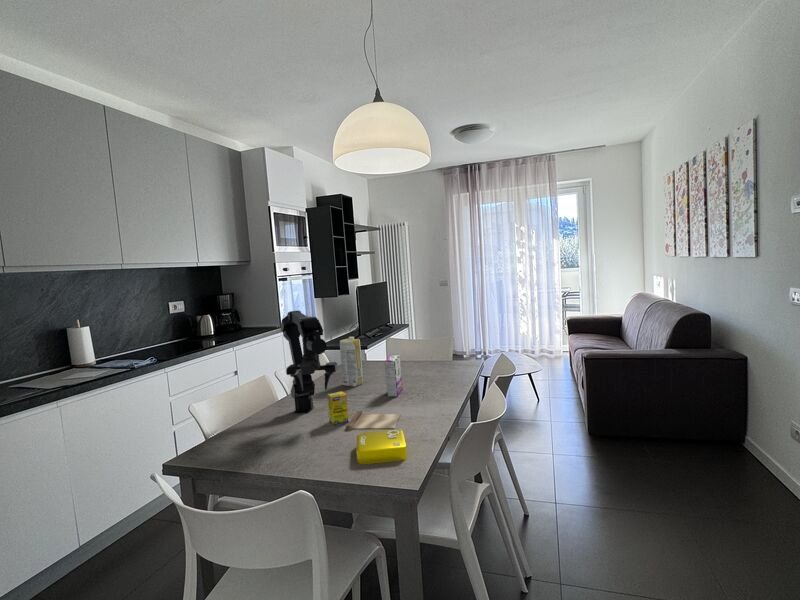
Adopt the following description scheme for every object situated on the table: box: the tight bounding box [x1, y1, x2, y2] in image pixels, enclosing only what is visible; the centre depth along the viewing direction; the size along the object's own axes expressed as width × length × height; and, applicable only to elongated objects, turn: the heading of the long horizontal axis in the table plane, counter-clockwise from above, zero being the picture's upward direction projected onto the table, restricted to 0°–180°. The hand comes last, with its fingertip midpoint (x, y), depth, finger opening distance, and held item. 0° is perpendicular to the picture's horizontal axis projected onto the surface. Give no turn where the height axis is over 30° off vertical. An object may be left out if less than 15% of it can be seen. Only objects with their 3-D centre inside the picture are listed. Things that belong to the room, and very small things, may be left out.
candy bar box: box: [384, 354, 403, 398], centre depth 196 cm, size 11×5×16 cm, turn 168°
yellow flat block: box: [356, 429, 408, 465], centre depth 135 cm, size 15×15×5 cm
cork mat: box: [352, 413, 401, 430], centre depth 162 cm, size 16×14×1 cm
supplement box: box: [327, 391, 349, 427], centre depth 164 cm, size 6×6×11 cm
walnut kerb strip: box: [345, 410, 363, 431], centre depth 163 cm, size 2×16×2 cm, turn 171°
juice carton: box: [339, 336, 364, 387], centre depth 216 cm, size 9×8×24 cm
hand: (314, 390), depth 166 cm, fingers open, 9 cm apart
